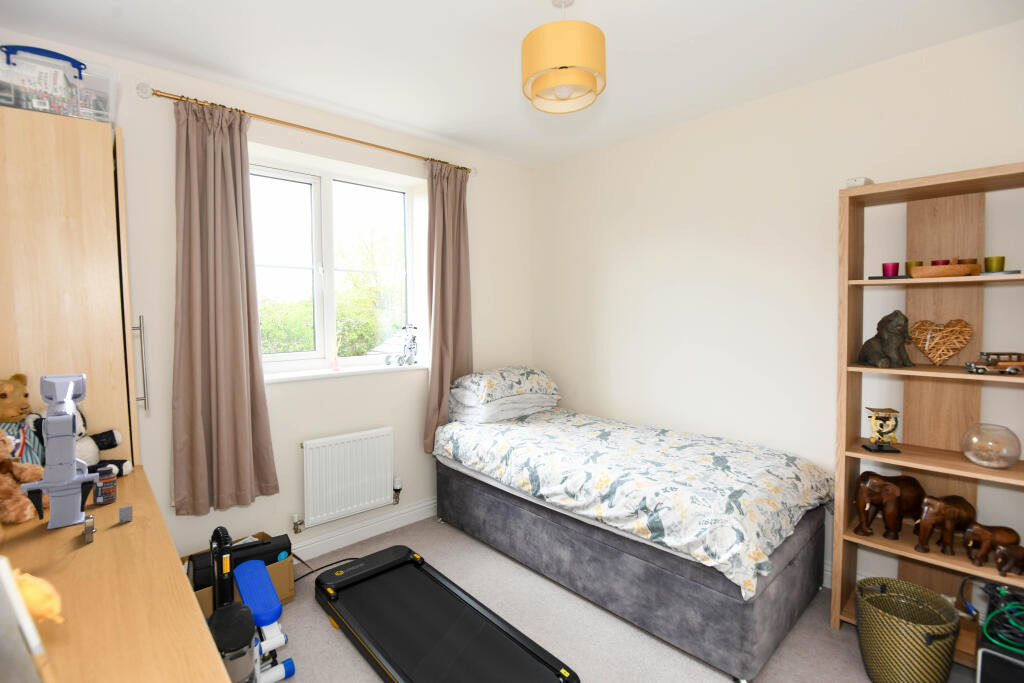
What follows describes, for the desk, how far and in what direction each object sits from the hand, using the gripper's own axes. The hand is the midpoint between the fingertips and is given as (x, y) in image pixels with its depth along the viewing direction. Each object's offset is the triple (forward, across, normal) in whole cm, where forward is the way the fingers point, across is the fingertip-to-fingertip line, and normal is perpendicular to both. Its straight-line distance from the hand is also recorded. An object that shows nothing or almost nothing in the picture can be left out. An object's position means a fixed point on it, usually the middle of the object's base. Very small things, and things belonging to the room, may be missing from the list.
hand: (62, 514), depth 125 cm
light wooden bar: (+10, +5, +6) cm, 13 cm away
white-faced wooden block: (+10, +13, +14) cm, 22 cm away
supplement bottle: (+10, +9, +39) cm, 41 cm away
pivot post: (+10, +5, +12) cm, 16 cm away
